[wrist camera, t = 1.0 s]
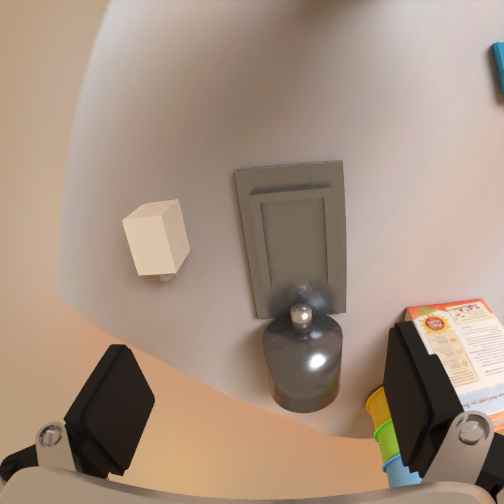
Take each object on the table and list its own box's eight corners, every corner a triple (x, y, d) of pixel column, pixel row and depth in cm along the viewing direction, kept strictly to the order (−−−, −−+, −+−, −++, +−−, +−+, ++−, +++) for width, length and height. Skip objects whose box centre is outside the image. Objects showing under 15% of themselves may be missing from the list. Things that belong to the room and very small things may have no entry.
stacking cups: (409, 371, 47) (454, 559, 16) (423, 398, 50) (460, 558, 19) (356, 395, 50) (374, 581, 19) (375, 419, 53) (393, 578, 22)
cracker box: (399, 337, 44) (436, 452, 25) (406, 305, 41) (456, 423, 23) (472, 327, 42) (525, 424, 23) (482, 297, 39) (547, 393, 21)
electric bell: (235, 170, 36) (217, 193, 27) (340, 160, 34) (360, 180, 25) (266, 364, 48) (261, 414, 39) (342, 359, 46) (349, 409, 38)
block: (143, 204, 39) (121, 220, 33) (178, 198, 38) (161, 214, 33) (159, 266, 43) (143, 289, 37) (193, 264, 42) (180, 288, 36)
